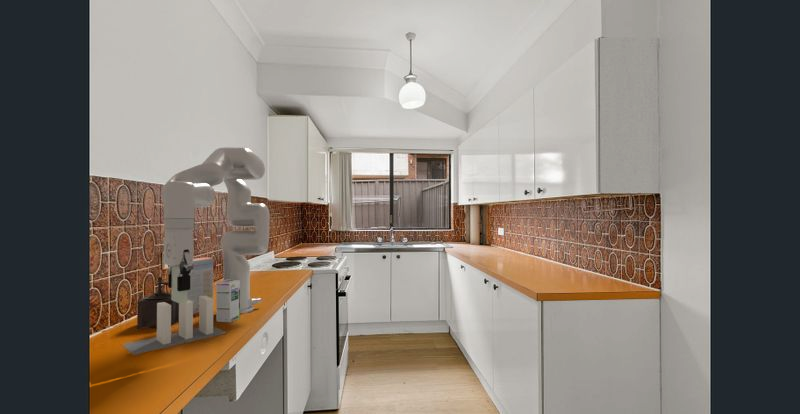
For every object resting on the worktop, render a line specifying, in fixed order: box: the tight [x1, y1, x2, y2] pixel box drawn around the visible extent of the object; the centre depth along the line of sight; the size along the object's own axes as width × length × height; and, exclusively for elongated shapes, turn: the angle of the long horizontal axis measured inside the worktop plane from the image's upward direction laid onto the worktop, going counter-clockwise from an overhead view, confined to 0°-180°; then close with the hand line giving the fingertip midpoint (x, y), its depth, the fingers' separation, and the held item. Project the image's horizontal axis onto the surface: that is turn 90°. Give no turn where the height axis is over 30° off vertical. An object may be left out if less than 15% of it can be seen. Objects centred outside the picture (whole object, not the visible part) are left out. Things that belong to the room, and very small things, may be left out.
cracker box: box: [187, 257, 214, 317], centre depth 146 cm, size 14×6×21 cm, turn 161°
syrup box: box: [215, 279, 241, 323], centre depth 137 cm, size 6×6×14 cm
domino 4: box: [198, 296, 214, 335], centre depth 123 cm, size 2×6×11 cm, turn 48°
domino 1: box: [156, 302, 172, 344], centre depth 114 cm, size 2×6×11 cm, turn 48°
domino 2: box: [170, 263, 187, 303], centre depth 108 cm, size 2×6×11 cm, turn 49°
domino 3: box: [178, 299, 194, 339], centre depth 118 cm, size 2×6×11 cm, turn 48°
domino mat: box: [122, 326, 227, 355], centre depth 117 cm, size 25×12×1 cm, turn 138°
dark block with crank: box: [136, 276, 179, 330], centre depth 133 cm, size 16×11×18 cm
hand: (179, 288), depth 108 cm, fingers closed on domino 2, 5 cm apart
